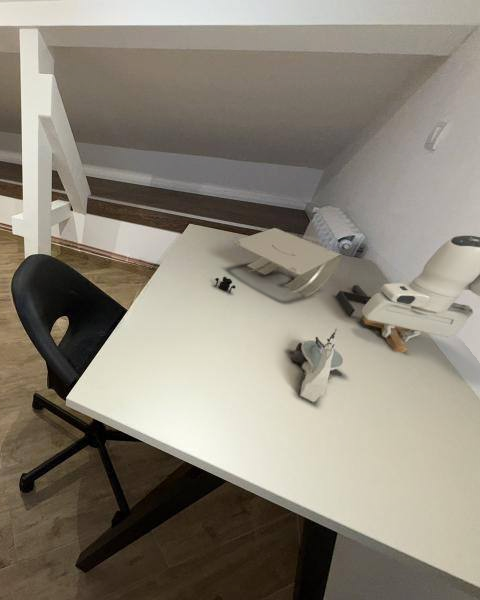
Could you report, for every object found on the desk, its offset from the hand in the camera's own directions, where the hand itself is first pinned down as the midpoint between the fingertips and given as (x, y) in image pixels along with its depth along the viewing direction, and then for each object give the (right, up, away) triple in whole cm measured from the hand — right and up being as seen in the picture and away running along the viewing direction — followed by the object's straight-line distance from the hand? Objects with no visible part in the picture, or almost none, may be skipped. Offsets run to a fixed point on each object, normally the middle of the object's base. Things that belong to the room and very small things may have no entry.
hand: (393, 338), depth 87 cm
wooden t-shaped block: (0, -1, +2) cm, 3 cm away
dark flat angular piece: (+8, +9, +17) cm, 21 cm away
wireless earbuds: (-40, +14, +18) cm, 46 cm away
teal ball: (0, +5, +8) cm, 9 cm away
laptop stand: (-19, +17, +26) cm, 37 cm away
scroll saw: (-33, -8, -13) cm, 37 cm away
